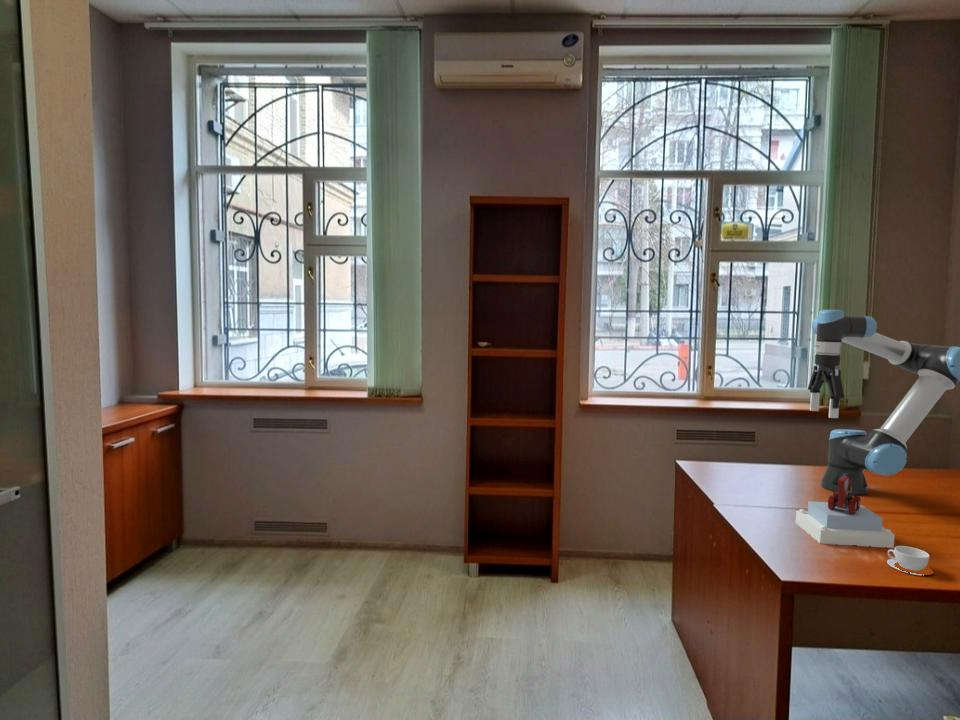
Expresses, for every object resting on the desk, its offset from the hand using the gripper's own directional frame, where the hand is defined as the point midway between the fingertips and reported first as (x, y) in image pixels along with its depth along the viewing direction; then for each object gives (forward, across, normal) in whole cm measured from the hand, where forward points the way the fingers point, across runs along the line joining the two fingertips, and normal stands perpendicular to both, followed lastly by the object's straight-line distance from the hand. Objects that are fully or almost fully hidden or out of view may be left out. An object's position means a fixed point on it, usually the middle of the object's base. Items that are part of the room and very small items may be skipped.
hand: (823, 414), depth 197 cm
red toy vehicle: (+24, +31, -7) cm, 40 cm away
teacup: (+32, +52, 0) cm, 61 cm away
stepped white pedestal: (+32, +31, -7) cm, 45 cm away
